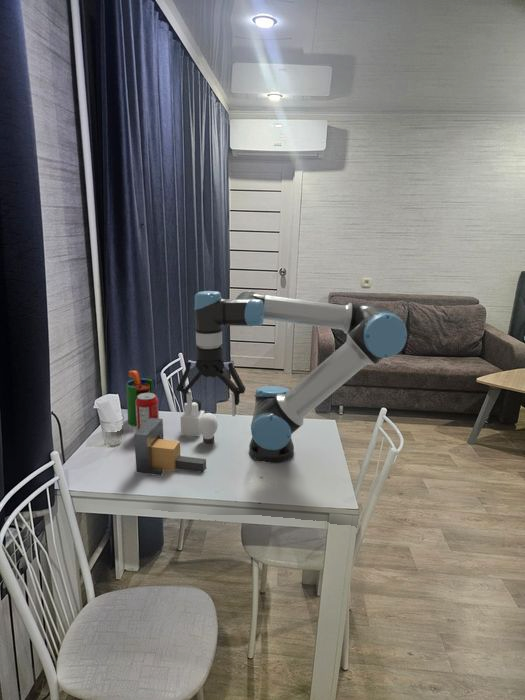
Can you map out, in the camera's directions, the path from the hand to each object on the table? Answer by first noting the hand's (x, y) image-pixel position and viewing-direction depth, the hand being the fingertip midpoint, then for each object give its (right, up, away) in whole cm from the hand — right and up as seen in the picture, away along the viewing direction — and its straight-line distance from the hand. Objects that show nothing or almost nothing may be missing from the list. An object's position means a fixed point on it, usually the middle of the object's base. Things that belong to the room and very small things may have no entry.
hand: (212, 413), depth 133 cm
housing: (-19, -17, +8) cm, 27 cm away
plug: (-11, -18, +7) cm, 22 cm away
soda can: (-26, -12, +28) cm, 40 cm away
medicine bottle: (-11, -11, +31) cm, 35 cm away
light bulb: (-4, -14, +23) cm, 27 cm away
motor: (-32, -9, +39) cm, 51 cm away
